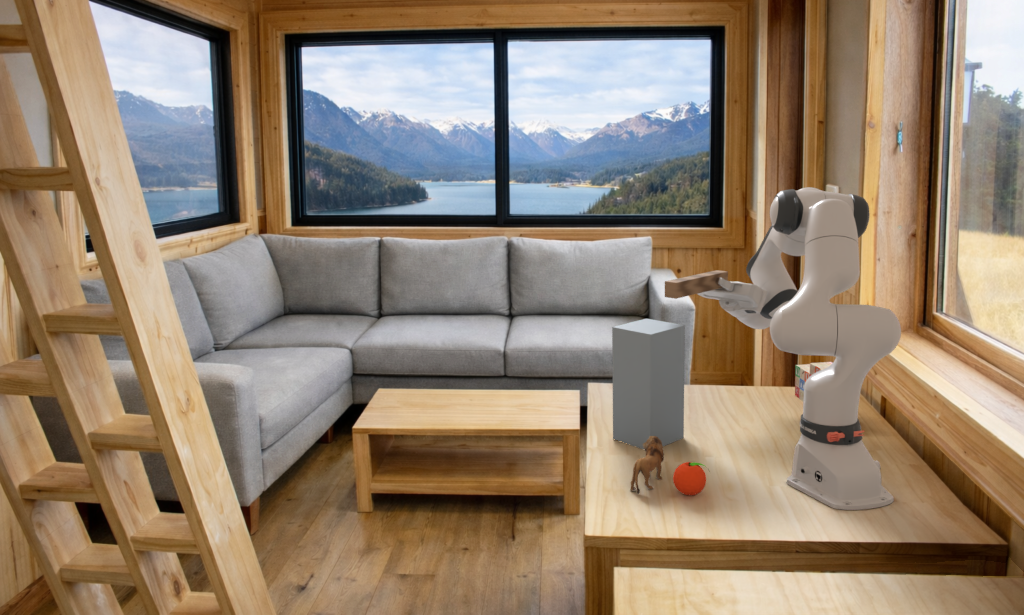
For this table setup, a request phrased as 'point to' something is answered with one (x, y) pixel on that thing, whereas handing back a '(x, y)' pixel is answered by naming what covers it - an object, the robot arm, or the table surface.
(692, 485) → the clementine
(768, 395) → the table surface
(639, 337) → the stand
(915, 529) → the table surface
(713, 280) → the bar
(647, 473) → the lion figurine
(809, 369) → the stack of blocks
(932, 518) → the table surface
